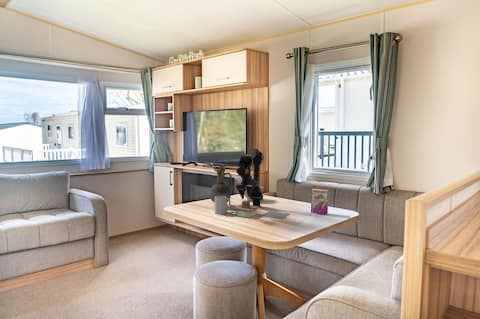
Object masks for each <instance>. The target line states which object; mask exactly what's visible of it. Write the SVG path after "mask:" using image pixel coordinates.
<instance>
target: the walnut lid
mask: <svg viewBox="0 0 480 319" xmlns="http://www.w3.org/2000/svg"><path fill="white" fill-rule="evenodd" d="M260 206H261V205H260ZM260 206H253V204H252V205H251V201H248V200H242V201H241V204H238V205H235V206H234V207H232V208H231V210H232V211H236V210H238V211H246V212H252V211H254V210H256V211H257V210H258V209H260V208H261V207H260Z"/></svg>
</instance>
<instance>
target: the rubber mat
mask: <svg viewBox="0 0 480 319" xmlns="http://www.w3.org/2000/svg"><path fill="white" fill-rule="evenodd" d="M290 215H291V213H287V212H278V211H271V210H270V211H269V210H268V211H267V212H265V213H263V214H261V215H260V217H261V218H262V217H263V218H269V219H270V218H271V219H276V220H284V219H286V218H288V217H289V216H290Z"/></svg>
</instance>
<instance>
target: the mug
mask: <svg viewBox="0 0 480 319" xmlns="http://www.w3.org/2000/svg"><path fill="white" fill-rule="evenodd" d="M227 201H228V202H227ZM231 205H232V204H231V198H230V199H229V198H227V197H226V196H215V203H214V214H216V215H226V214H228V209H229V208H230V207H231Z"/></svg>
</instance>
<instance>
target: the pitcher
mask: <svg viewBox="0 0 480 319" xmlns="http://www.w3.org/2000/svg"><path fill="white" fill-rule="evenodd" d="M226 170H227V169H226V167H225V166H223V165H219V167H218V169H216V168H215V169H214V170H213V171H214V172H216V178H217V179H216V183H215V184H213V185H212V186H211V187H210V191H209V198H210V200H211V201H212V202H213V203H214V204H215V196H226V197H227V198H229V199H230V200H231V196H232V189H231V188H230V186H231V183H232V181H233V180H232V178H233V177H232V174H231V172H229V171H228V172H226ZM227 175H229V183H228V184H226V183H225V176H227ZM227 203H229V201H227Z"/></svg>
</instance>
